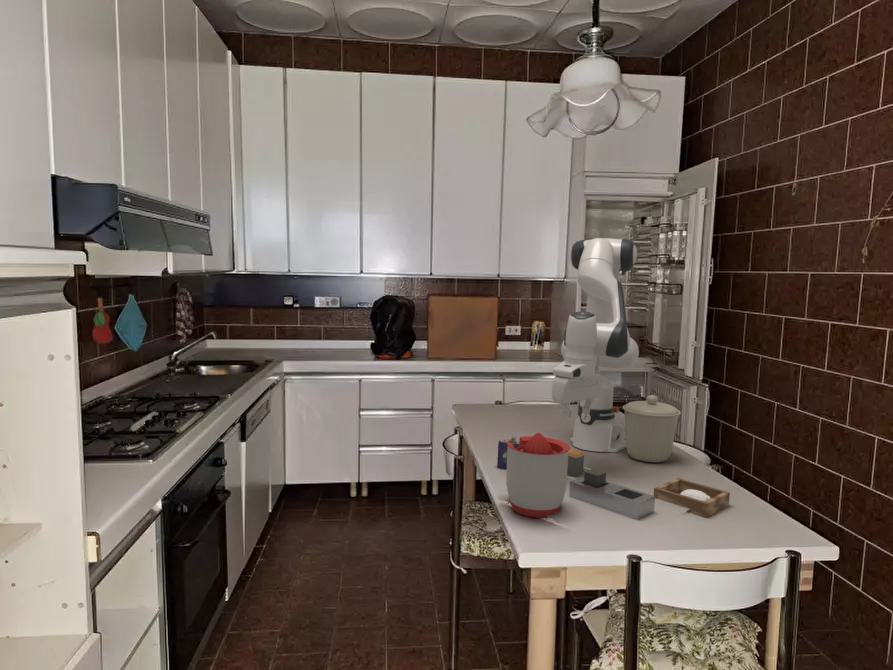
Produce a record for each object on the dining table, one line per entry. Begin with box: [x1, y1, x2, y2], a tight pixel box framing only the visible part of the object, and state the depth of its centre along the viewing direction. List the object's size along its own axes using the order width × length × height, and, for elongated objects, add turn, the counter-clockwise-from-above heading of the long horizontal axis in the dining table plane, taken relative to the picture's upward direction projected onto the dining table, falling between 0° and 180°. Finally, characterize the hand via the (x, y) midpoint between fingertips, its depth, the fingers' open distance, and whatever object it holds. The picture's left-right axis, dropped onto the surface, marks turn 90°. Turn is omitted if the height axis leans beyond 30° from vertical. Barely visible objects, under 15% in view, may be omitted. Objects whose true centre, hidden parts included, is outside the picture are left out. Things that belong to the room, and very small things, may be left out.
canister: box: [622, 394, 682, 463], centre depth 204 cm, size 18×18×21 cm
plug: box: [567, 448, 585, 478], centre depth 183 cm, size 4×4×7 cm
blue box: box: [496, 435, 519, 471], centre depth 187 cm, size 9×3×11 cm, turn 78°
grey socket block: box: [568, 475, 656, 520], centre depth 161 cm, size 8×20×5 cm, turn 43°
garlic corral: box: [653, 477, 731, 519], centre depth 166 cm, size 13×14×4 cm
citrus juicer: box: [503, 432, 571, 519], centre depth 157 cm, size 16×17×20 cm
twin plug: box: [583, 468, 607, 488], centre depth 164 cm, size 4×4×7 cm
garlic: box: [679, 489, 711, 502], centre depth 165 cm, size 8×7×4 cm
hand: (576, 415), depth 182 cm, fingers open, 8 cm apart
